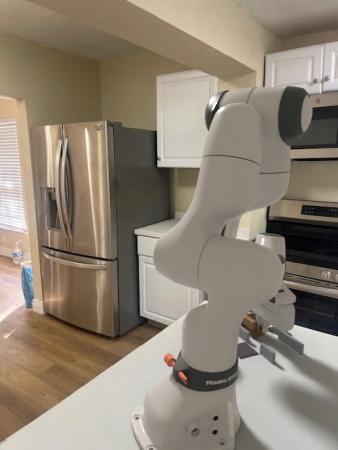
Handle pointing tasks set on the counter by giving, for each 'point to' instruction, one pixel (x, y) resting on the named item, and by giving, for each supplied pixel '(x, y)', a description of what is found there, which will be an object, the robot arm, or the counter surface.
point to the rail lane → (267, 351)
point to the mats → (247, 350)
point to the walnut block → (251, 325)
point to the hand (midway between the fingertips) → (262, 330)
